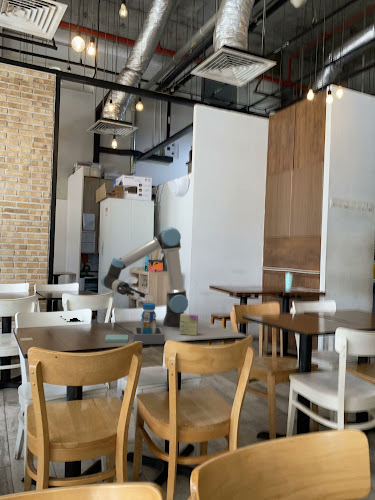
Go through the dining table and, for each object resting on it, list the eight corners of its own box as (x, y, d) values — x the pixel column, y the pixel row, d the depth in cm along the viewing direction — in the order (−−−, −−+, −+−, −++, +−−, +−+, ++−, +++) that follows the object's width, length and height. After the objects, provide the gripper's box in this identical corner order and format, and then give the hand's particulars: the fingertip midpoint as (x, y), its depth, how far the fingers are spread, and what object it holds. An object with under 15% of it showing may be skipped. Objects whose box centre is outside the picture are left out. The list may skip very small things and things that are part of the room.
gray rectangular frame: (160, 335, 233) (161, 327, 233) (164, 343, 213) (164, 334, 213) (133, 335, 231) (133, 327, 231) (133, 344, 211) (134, 334, 211)
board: (127, 337, 226) (128, 334, 226) (127, 342, 215) (128, 339, 215) (106, 337, 225) (106, 334, 225) (105, 342, 213) (105, 339, 213)
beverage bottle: (137, 339, 223) (138, 303, 223) (150, 337, 228) (151, 302, 228) (145, 342, 216) (146, 305, 216) (158, 340, 221) (159, 304, 221)
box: (197, 333, 243) (198, 314, 243) (196, 335, 237) (197, 315, 237) (180, 332, 244) (181, 313, 244) (179, 334, 238) (180, 314, 238)
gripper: (132, 296, 254) (156, 306, 241) (104, 290, 234) (129, 301, 221) (136, 284, 254) (161, 295, 242) (108, 277, 234) (134, 288, 222)
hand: (146, 298), depth 232 cm, fingers open, 13 cm apart
